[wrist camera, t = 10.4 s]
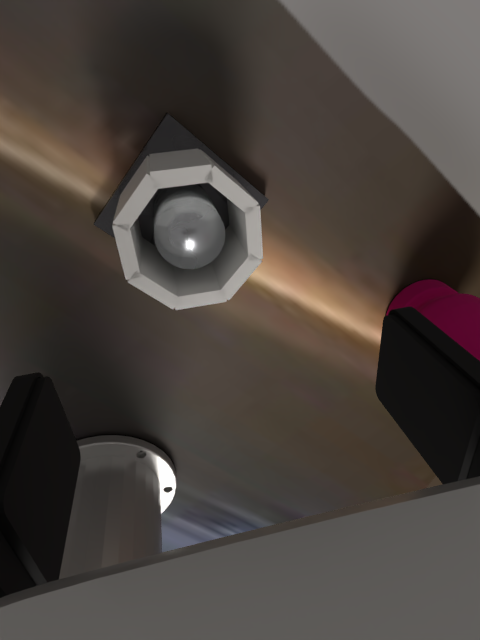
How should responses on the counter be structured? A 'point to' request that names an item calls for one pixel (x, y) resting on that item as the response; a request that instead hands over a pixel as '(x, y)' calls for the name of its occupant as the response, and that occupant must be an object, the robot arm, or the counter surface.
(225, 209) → the duct stub
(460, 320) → the pepper mill
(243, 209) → the white hollow octagonal tube
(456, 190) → the counter surface
